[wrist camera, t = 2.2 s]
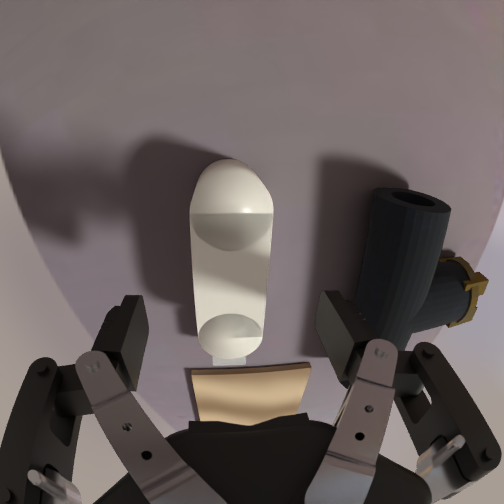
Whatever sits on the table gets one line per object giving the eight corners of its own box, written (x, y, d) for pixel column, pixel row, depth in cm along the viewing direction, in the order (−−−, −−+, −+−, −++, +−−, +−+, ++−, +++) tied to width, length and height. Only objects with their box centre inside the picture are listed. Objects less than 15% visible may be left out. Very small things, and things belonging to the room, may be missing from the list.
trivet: (191, 369, 21) (191, 375, 21) (309, 362, 22) (311, 367, 22) (203, 431, 26) (203, 435, 26) (289, 425, 28) (290, 429, 27)
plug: (196, 159, 14) (188, 172, 10) (261, 159, 14) (276, 172, 11) (203, 340, 20) (203, 382, 16) (250, 339, 20) (258, 380, 17)
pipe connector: (514, 218, 13) (450, 368, 19) (470, 194, 17) (425, 334, 24) (406, 213, 12) (346, 401, 18) (358, 184, 16) (328, 355, 23)
